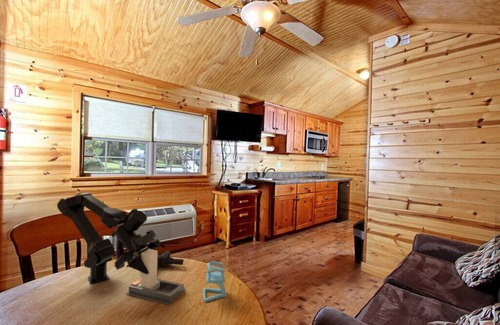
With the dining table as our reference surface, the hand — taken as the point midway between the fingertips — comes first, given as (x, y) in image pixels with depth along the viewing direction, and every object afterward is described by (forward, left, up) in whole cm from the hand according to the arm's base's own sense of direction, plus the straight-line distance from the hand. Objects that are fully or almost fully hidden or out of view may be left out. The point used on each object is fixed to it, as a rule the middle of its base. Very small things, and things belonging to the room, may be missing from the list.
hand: (152, 271), depth 90 cm
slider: (-1, -1, -8) cm, 8 cm away
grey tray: (+2, +1, -8) cm, 8 cm away
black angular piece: (-17, +14, -8) cm, 23 cm away
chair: (+17, +17, -8) cm, 25 cm away
